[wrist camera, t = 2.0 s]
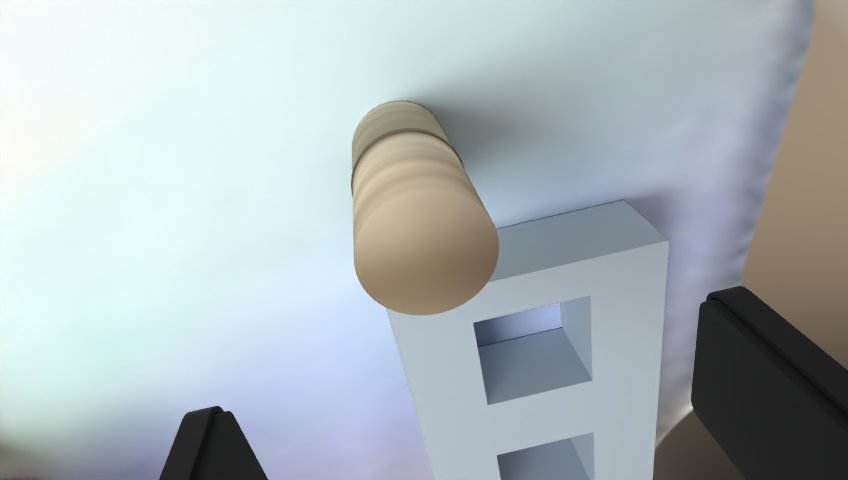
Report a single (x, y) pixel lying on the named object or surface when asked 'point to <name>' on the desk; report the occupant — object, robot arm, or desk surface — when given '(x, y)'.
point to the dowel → (416, 214)
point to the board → (548, 356)
